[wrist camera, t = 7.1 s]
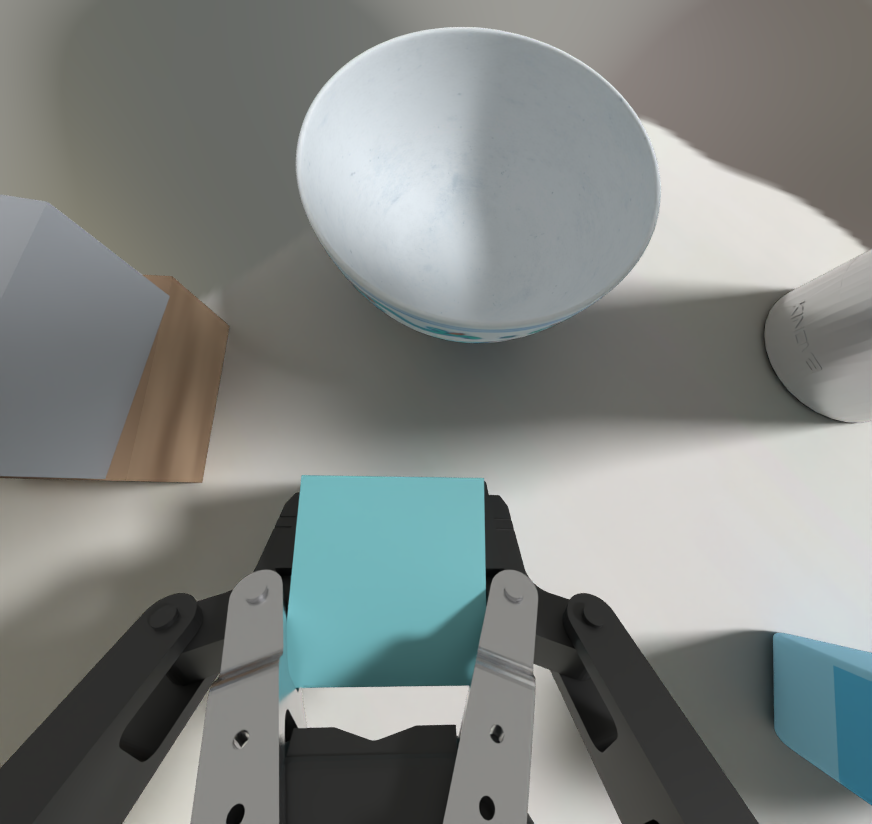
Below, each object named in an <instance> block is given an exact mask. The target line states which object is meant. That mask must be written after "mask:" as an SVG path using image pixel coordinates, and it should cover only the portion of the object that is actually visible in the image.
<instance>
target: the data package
mask: <svg viewBox="0 0 872 824" xmlns="http://www.w3.org/2000/svg"><path fill="white" fill-rule="evenodd" d="M773 669H774V729H775V732H776V734H777V736H778V737H779V738H780V740H781V741H782V742H783V743H784V744H786V745H787V746H788V747H789V748H790V749H792V750H793V751H795V752H796V753H797V754H799V755H800V756H802V757H803V758H804V759H806V760H807V761H809V762H810V763H812V764H813V765H815V766H816V767H817V768H819V769H820V770H822V771H823V772H825V773H826V774H827V775H829V776H830V777H832V778H833V779H835V780H836V781H837V782H839V783H840V784H842V785H843V786H845V787H846V788H847V789H849V790H850V791H852V792H853V793H855V794H856V795H857V796H859V797H860V798H862V799H863V800H865V801H866V802H867V803H869V804H870V805H872V653H870V652H865V651H861V650H857V649H852V648H848V647H843V646H839V645H835V644H830V643H826V642H821V641H817V640H813V639H808V638H804V637H799V636H795V635H790V634H786V633H775V634H774V636H773Z"/></svg>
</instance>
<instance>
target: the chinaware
mask: <svg viewBox="0 0 872 824" xmlns="http://www.w3.org/2000/svg"><path fill="white" fill-rule="evenodd" d="M296 177H297V184H298V190H299V193H300V198H301V201H302V205H303V208H304V210H305V213H306V216H307V218H308V220H309V223H310V225H311V227H312V229H313V231H314V232H315V234H316V236H317V238H318V239H319V241H320V243H321V244H322V246H323V247H324V249H325V250H326V252H327V253H328V255H329V256H330V257H331V259H332V260H333V261H334V263H335V264H336V266H337V267H338V268H339V269H340V271H341V272H342V273H343V274H344V275H345V277H346V278H347V279H348V280H349V281H350V282H351V283H352V284H353V286H354V287H355V288H356V289H357V290H358V291H359V292H360V293H361V294H362V295H363V296H365V297H366V298H367V299H368V300H369V301H370V302H371V303H373V304H374V305H375V306H376V307H377V308H379V309H380V310H381V311H383V312H384V313H386V314H387V315H389V316H390V317H392V318H393V319H395V320H396V321H398V322H400V323H402V324H404V325H405V326H407V327H409V328H412V329H414V330H416V331H418V332H421V333H424V334H426V335H429V336H432V337H436V338H440V339H444V340H449V341H455V342H463V343H492V342H501V341H507V340H512V339H517V338H521V337H524V336H528V335H531V334H534V333H537V332H540V331H542V330H545V329H547V328H550V327H552V326H554V325H556V324H558V323H561V322H563V321H565V320H567V319H568V318H570V317H572V316H574V315H576V314H577V313H579V312H581V311H582V310H584V309H586V308H587V307H589V306H590V305H592V304H593V303H595V302H596V301H598V300H599V299H601V298H602V297H603V296H605V295H606V294H607V293H609V292H610V291H611V290H612V289H613V288H614V287H616V286H617V285H618V284H619V283H620V282H621V281H622V280H623V279H624V278H625V277H626V276H627V275H628V274H629V272H630V271H631V270H632V269H633V267H634V266H635V265H636V264H637V262H638V261H639V259H640V258H641V256H642V255H643V253H644V251H645V249H646V248H647V246H648V244H649V241H650V239H651V237H652V234H653V232H654V229H655V226H656V222H657V218H658V213H659V207H660V197H661V185H660V174H659V168H658V163H657V159H656V155H655V152H654V149H653V146H652V143H651V141H650V138H649V136H648V134H647V132H646V130H645V128H644V126H643V124H642V123H641V121H640V119H639V118H638V116H637V115H636V113H635V112H634V110H633V109H632V108H631V106H630V105H629V104H628V102H627V101H626V100H625V99H624V98H623V96H622V95H621V94H620V93H619V92H618V91H617V90H616V89H615V88H614V87H613V86H612V85H611V84H610V83H609V82H608V81H607V80H605V79H604V78H603V77H602V76H601V75H599V74H598V73H597V72H595V71H594V70H593V69H592V68H590V67H589V66H587V65H586V64H584V63H583V62H581V61H579V60H578V59H576V58H575V57H573V56H571V55H569V54H567V53H566V52H564V51H562V50H560V49H558V48H555V47H553V46H551V45H548V44H546V43H543V42H541V41H538V40H535V39H532V38H529V37H526V36H522V35H519V34H515V33H510V32H506V31H500V30H494V29H486V28H474V27H449V28H437V29H430V30H424V31H419V32H414V33H410V34H406V35H403V36H399V37H396V38H394V39H391V40H388V41H386V42H383V43H381V44H379V45H377V46H375V47H373V48H370V49H369V50H367V51H365V52H363V53H362V54H360V55H359V56H357V57H356V58H354V59H352V60H351V61H350V62H348V63H347V64H346V65H345V66H343V67H342V68H341V69H340V70H339V71H338V72H337V73H335V74H334V75H333V76H332V77H331V78H330V80H329V81H328V82H327V83H326V84H325V85H324V86H323V88H322V89H321V90H320V92H319V93H318V95H317V96H316V97H315V99H314V101H313V102H312V104H311V106H310V108H309V110H308V112H307V114H306V116H305V119H304V121H303V124H302V127H301V130H300V134H299V139H298V143H297V151H296Z"/></svg>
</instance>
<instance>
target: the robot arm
mask: <svg viewBox="0 0 872 824" xmlns="http://www.w3.org/2000/svg"><path fill="white" fill-rule="evenodd" d="M764 336H765V345H766V351H767V354H768V357H769V360H770V363H771V365H772V367H773V368H774V370H775V372H776V374H777V376H778V378H779V379H780V380H781V381H782V383H783V384H784V385H785V386H786V388H787V389H788V390H789V391H790V392H791V393H792V394H793V395H794V396H795V397H796V398H797V399H798V400H799V401H801V402H802V403H803V404H805V405H806V406H808V407H809V408H811V409H812V410H814V411H815V412H817V413H820V414H822V415H824V416H827V417H829V418H831V419H835V420H840V421H844V422H869V421H872V249H871V250H869V251H867V252H865V253H863V254H861V255H859V256H857V257H855V258H853V259H851V260H850V261H848V262H846V263H844V264H842V265H840V266H838V267H836V268H834V269H832V270H831V271H829V272H827V273H825V274H823V275H821V276H819V277H817V278H815V279H813V280H812V281H810V282H808V283H806V284H804V285H802V286H800V287H798V288H796V289H794V290H793V291H791V292H789V293H787V294H786V295H784V296H783V297H782V298H780V299H779V300H778V301H777V302H776V303H775V305H774V306H773V307H772V309H771V310H770V312H769V315H768V317H767V320H766V325H765V334H764ZM299 496H300V493H296V494H295V495H294V496H293V497H292V498H291V499H290V500H289V501H288V502H287V503H286V504H285V506H284V508H283V510H282V512H281V514H280V518H279V519H278V521H277V523H276V525H275V529H273V532H272V534H271V536H270V538H269V540H268V542H267V545H266V547H265V549H264V551H263V553H262V555H261V558H260V560H259V562H258V564H257V566H256V568H255V570H254V572H253V573H251V574H249V575H248V576H246V577H245V578H243V579H242V580H241V581H240V582H239V583H238V584H237V585H236V586H235V588H234V589H233V590H231V591H229V592H226V593H223V594H220V595H217V596H214V597H210V598H207V599H204V600H200V601H197V602H196V600H195V599H194V597H192V596H191V595H189V594H185V593H178V594H173V595H170V596H167V597H165V598H163V599H161V600H159V601H158V602H156V603H155V604H153V605H152V606H151V607H150V608H148V609H147V610H146V611H145V612H144V613H143V614H142V616H141V617H140V618H139V619H138V620H137V621H136V622H135V623H134V624H133V625H132V626H131V627H130V629H129V630H128V631H127V632H126V633H125V634H124V635H123V636H122V637H121V638H120V639H119V640H118V642H117V643H116V644H115V645H114V646H113V647H112V648H111V649H110V650H109V651H108V652H107V653H106V655H105V656H104V657H103V658H102V659H101V660H100V661H99V662H98V663H97V664H96V665H95V666H94V668H93V669H92V670H91V671H90V672H89V673H88V674H87V675H86V676H85V677H84V678H83V679H82V681H81V682H80V683H79V684H78V685H77V686H76V687H75V688H74V689H73V690H72V691H71V692H70V694H69V695H68V696H67V697H66V698H65V699H64V700H63V701H62V702H61V703H60V704H59V705H58V707H57V708H56V709H55V710H54V711H53V712H52V713H51V714H50V715H49V716H48V717H47V719H46V720H45V721H44V722H43V723H42V724H41V725H40V726H39V727H38V728H37V729H36V730H35V732H34V733H33V734H32V735H31V736H30V737H29V738H28V739H27V740H26V741H25V742H24V743H23V745H22V746H21V747H20V748H19V749H18V750H17V751H16V752H15V753H14V754H13V755H12V756H11V758H10V759H9V760H8V761H7V762H6V763H5V764H4V765H3V766H2V767H1V768H0V824H122V823H123V821H124V820H125V818H126V817H127V815H128V814H129V812H130V810H131V809H132V807H133V806H134V804H135V803H136V801H137V800H138V798H139V796H140V795H141V793H142V792H143V790H144V789H145V787H146V786H147V784H148V782H149V781H150V779H151V778H152V776H153V775H154V773H155V772H156V770H157V768H158V767H159V765H160V764H161V762H162V761H163V759H164V758H165V756H166V754H167V753H168V751H169V750H170V748H171V747H172V745H173V744H174V742H175V740H176V739H177V737H178V736H179V734H180V733H181V731H182V730H183V728H184V726H185V725H186V723H187V722H188V720H189V719H190V717H191V716H192V714H193V712H194V711H195V709H196V708H197V706H198V705H199V703H200V702H201V700H202V698H203V697H204V695H205V694H206V692H207V691H208V689H209V688H210V686H211V684H212V683H213V684H212V686H211V688H210V691H209V695H208V701H207V708H206V715H205V722H204V729H203V737H202V744H201V751H200V759H199V766H198V773H197V780H196V788H195V795H194V802H193V809H192V817H191V824H534V822H533V821H532V819H531V817H530V816H529V814H528V813H527V812H528V797H529V782H530V767H531V752H532V736H533V721H534V706H535V689H536V684H535V677H534V675H533V664H536V665H539V666H541V667H544V668H547V669H549V670H550V671H551V673H552V675H553V677H554V679H555V682H556V684H557V686H558V688H559V690H560V692H561V694H562V697H563V699H564V701H565V703H566V705H567V707H568V709H569V712H570V714H571V716H572V718H573V720H574V722H575V724H576V727H577V729H578V731H579V733H580V735H581V737H582V739H583V741H584V744H585V746H586V748H587V750H588V752H589V754H590V756H591V759H592V761H593V763H594V765H595V767H596V769H597V771H598V774H599V776H600V778H601V780H602V782H603V784H604V786H605V789H606V791H607V793H608V795H609V797H610V799H611V801H612V804H613V806H614V808H615V810H616V812H617V814H618V816H619V819H620V821H621V823H622V824H759V823H758V822H757V820H756V819H755V817H754V816H753V814H752V813H751V811H750V810H749V809H748V807H747V806H746V804H745V803H744V801H743V800H742V798H741V797H740V795H739V794H738V793H737V791H736V790H735V788H734V787H733V785H732V784H731V782H730V781H729V779H728V778H727V776H726V775H725V774H724V772H723V771H722V769H721V768H720V766H719V765H718V763H717V762H716V760H715V759H714V758H713V756H712V755H711V753H710V752H709V750H708V749H707V747H706V746H705V744H704V743H703V741H702V740H701V739H700V737H699V736H698V734H697V733H696V731H695V730H694V728H693V727H692V725H691V724H690V722H689V721H688V720H687V718H686V717H685V715H684V714H683V712H682V711H681V709H680V708H679V706H678V705H677V704H676V702H675V701H674V699H673V698H672V696H671V695H670V693H669V692H668V690H667V689H666V687H665V686H664V685H663V683H662V682H661V680H660V679H659V677H658V676H657V674H656V673H655V671H654V670H653V668H652V667H651V666H650V664H649V663H648V661H647V660H646V658H645V657H644V655H643V654H642V652H641V651H640V650H639V648H638V647H637V645H636V644H635V642H634V641H633V639H632V638H631V636H630V635H629V633H628V632H627V631H626V629H625V628H624V626H623V625H622V623H621V622H620V620H619V619H618V617H617V616H616V614H615V613H614V612H613V610H612V609H611V608H610V607H609V606H608V605H607V604H606V603H605V602H604V601H603V600H601V599H600V598H598V597H596V596H594V595H591V594H587V593H580V594H576V595H574V596H573V597H572V598H571V599H570V600H569V599H566V598H563V597H560V596H557V595H554V594H551V593H548V592H546V591H544V590H542V589H540V588H539V587H538V586H536V585H535V584H534V583H533V582H532V581H531V580H530V578H529V577H528V575H527V573H526V571H525V568H524V565H523V561H522V558H521V554H520V550H519V546H518V543H517V539H516V535H515V532H514V528H513V524H512V521H511V517H510V513H509V509H508V506H507V505H506V503H505V502H504V501H503V499H502V498H501V497H500V496H499V495H489V494H488V489H487V485H486V482H485V481H484V512H485V570H486V611H485V616H484V621H483V625H482V630H481V635H480V640H479V645H478V650H477V655H476V660H475V664H474V669H473V674H472V678H471V682H470V685H469V689H468V694H467V698H466V703H465V707H464V712H463V717H462V722H461V726H460V731H459V736H456V725H423V726H414V727H412V728H409V729H406V730H404V731H401V732H398V733H396V734H393V735H390V736H388V737H385V738H382V739H380V740H376V741H372V740H368V739H366V738H363V737H360V736H357V735H354V734H351V733H349V732H346V731H343V730H340V729H337V728H334V727H329V728H307V722H306V714H305V708H304V702H303V695H302V688H295V685H294V683H293V681H292V679H291V677H290V673H289V668H288V658H287V615H288V605H289V595H290V585H291V575H292V565H293V556H294V546H295V536H296V526H297V516H298V506H299ZM219 673H220V675H219V678H218V680H216V681H214V680H215V678H216V677H217V675H218V674H219ZM213 681H214V682H213Z"/></svg>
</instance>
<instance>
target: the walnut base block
mask: <svg viewBox="0 0 872 824" xmlns="http://www.w3.org/2000/svg"><path fill="white" fill-rule="evenodd" d="M143 276H144V277H146V278H147V279H148V280H149V281H151V282H152V283H153V284H155V285H156V286H157V287H158V288H160V289H161V290H162V291H164V292H165V293H166V294H168V295H169V296H170V297H169V300H168V303H167V305H166V308H165V311H164V314H163V317H162V320H161V322H160V325H159V328H158V331H157V334H156V337H155V339H154V342H153V345H152V348H151V351H150V354H149V356H148V359H147V362H146V365H145V368H144V371H143V373H142V376H141V379H140V382H139V385H138V388H137V390H136V393H135V396H134V399H133V402H132V405H131V407H130V410H129V413H128V416H127V419H126V422H125V424H124V427H123V430H122V433H121V436H120V439H119V441H118V444H117V447H116V450H115V453H114V456H113V458H112V461H111V464H110V467H109V470H108V473H107V475H106V478H105V479H89V478H53V477H17V476H0V478H23V479H67V480H110V481H154V482H197V483H202V481H203V475H204V469H205V463H206V458H207V452H208V446H209V441H210V435H211V429H212V424H213V418H214V412H215V406H216V401H217V395H218V389H219V384H220V378H221V372H222V367H223V361H224V355H225V349H226V344H227V338H228V332H229V327H230V326H229V325H228V324H227V323H226V322H224V321H223V320H222V319H221V318H220V317H219V316H217V315H216V314H215V313H214V312H213V311H212V310H211V309H209V308H208V307H207V306H206V305H205V304H204V303H202V302H201V301H200V300H199V299H198V298H197V297H195V296H194V295H193V294H192V293H191V292H190V291H189V290H187V289H186V288H185V287H184V286H183V285H182V284H180V283H179V282H178V281H177V280H176V279H175V278H173V277H172V276H157V275H143Z"/></svg>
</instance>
